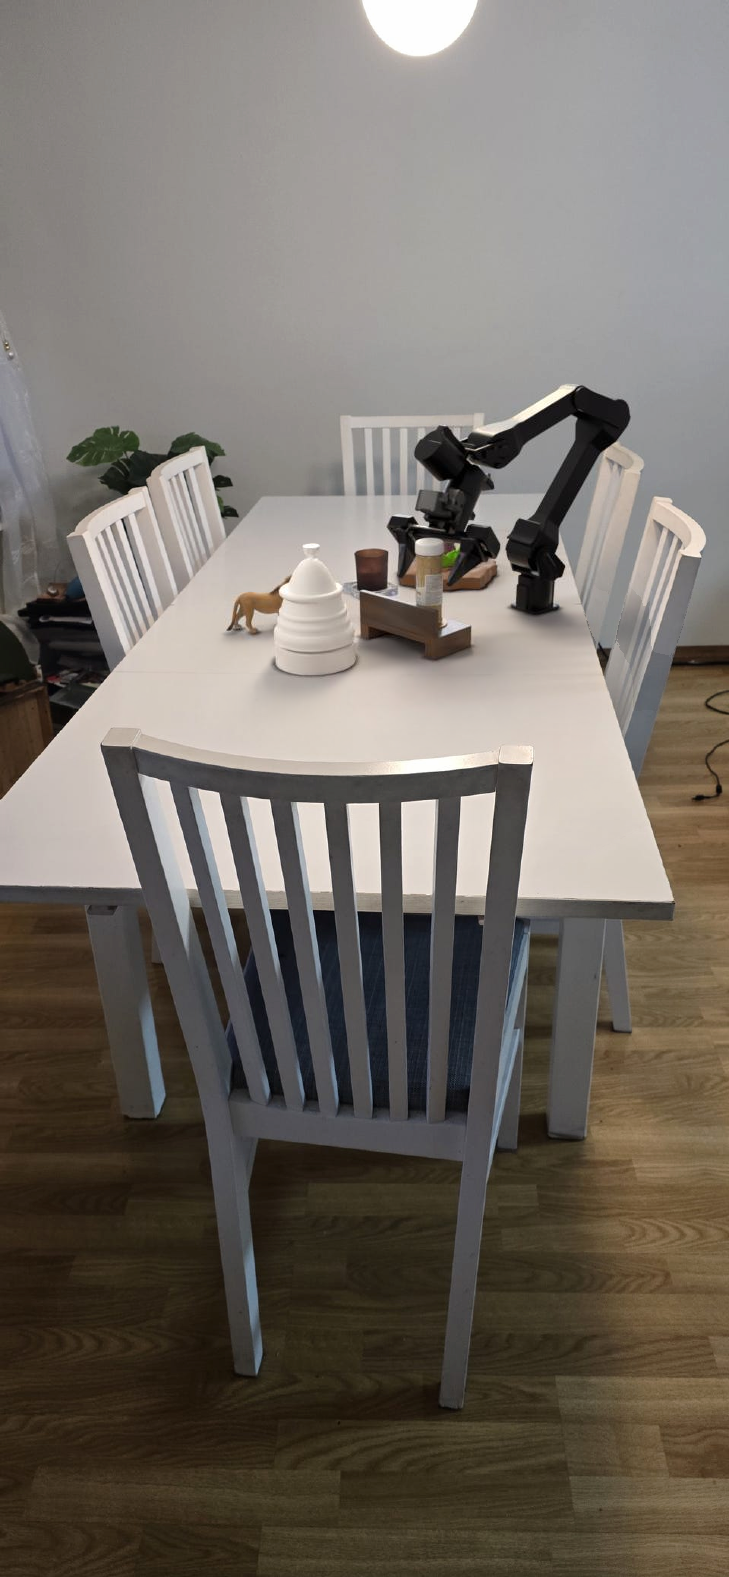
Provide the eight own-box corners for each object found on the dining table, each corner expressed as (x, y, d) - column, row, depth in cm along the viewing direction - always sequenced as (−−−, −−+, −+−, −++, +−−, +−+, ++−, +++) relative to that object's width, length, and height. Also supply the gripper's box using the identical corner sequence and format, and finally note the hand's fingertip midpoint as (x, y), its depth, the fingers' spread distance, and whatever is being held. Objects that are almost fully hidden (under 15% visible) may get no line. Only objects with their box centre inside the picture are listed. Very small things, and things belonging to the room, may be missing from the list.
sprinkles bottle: (412, 619, 165) (412, 538, 159) (439, 616, 166) (440, 536, 159) (418, 627, 161) (418, 545, 155) (446, 625, 162) (447, 543, 155)
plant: (390, 589, 193) (389, 531, 188) (404, 562, 210) (403, 509, 205) (493, 592, 190) (496, 533, 184) (499, 564, 207) (501, 510, 201)
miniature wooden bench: (397, 624, 174) (396, 579, 171) (471, 645, 163) (472, 598, 160) (360, 636, 169) (359, 590, 165) (434, 660, 158) (434, 611, 154)
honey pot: (280, 647, 165) (273, 539, 157) (357, 646, 165) (354, 538, 156) (271, 675, 154) (262, 560, 145) (353, 675, 153) (350, 559, 145)
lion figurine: (303, 618, 178) (300, 569, 174) (312, 627, 174) (309, 577, 170) (223, 629, 174) (218, 579, 170) (230, 638, 170) (225, 587, 165)
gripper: (391, 463, 160) (354, 546, 157) (494, 473, 150) (456, 562, 147) (418, 504, 169) (382, 583, 166) (516, 515, 159) (480, 600, 156)
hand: (423, 581), depth 159 cm, fingers open, 9 cm apart
